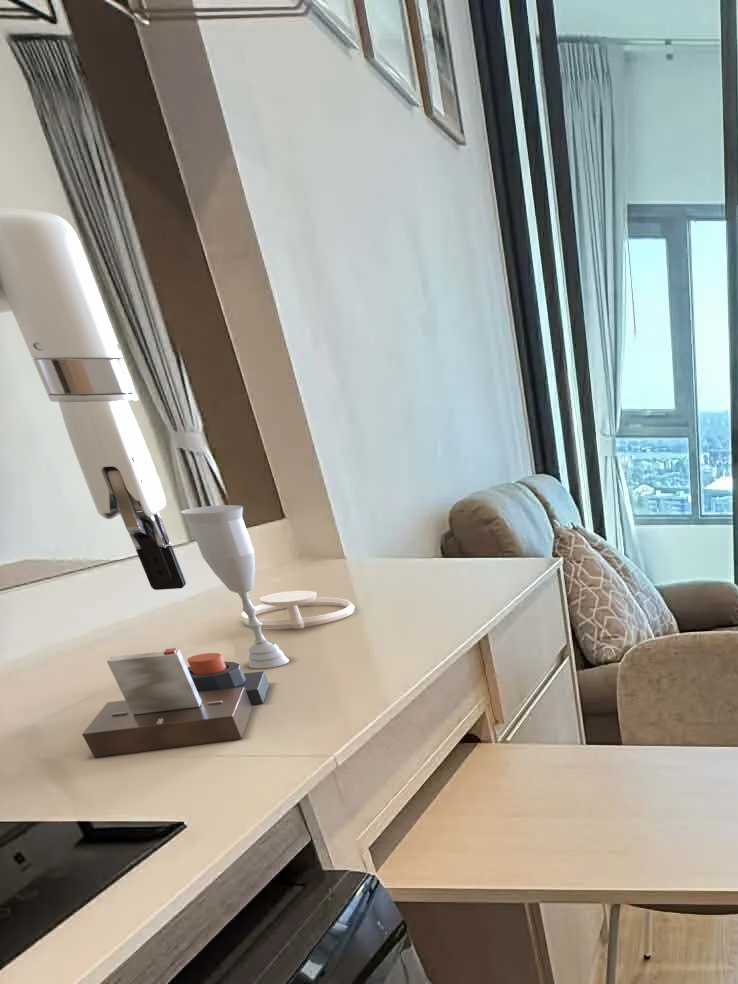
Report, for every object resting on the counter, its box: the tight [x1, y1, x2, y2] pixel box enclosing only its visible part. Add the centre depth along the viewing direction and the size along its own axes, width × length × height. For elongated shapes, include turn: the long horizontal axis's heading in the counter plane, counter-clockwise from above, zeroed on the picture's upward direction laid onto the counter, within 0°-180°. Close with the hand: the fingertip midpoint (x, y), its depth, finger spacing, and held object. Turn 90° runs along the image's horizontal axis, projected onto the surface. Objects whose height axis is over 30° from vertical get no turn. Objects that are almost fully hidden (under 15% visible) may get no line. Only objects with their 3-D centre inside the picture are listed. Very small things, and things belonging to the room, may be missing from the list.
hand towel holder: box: [239, 590, 355, 630], centre depth 133 cm, size 17×4×21 cm
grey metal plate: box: [106, 647, 202, 715], centre depth 90 cm, size 6×2×6 cm, turn 111°
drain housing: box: [187, 661, 270, 706], centre depth 101 cm, size 10×8×4 cm
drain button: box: [186, 652, 227, 675], centre depth 100 cm, size 4×4×2 cm
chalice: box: [180, 504, 290, 669], centre depth 109 cm, size 7×7×18 cm
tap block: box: [81, 687, 253, 758], centre depth 93 cm, size 14×11×3 cm
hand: (169, 587), depth 95 cm, fingers closed
